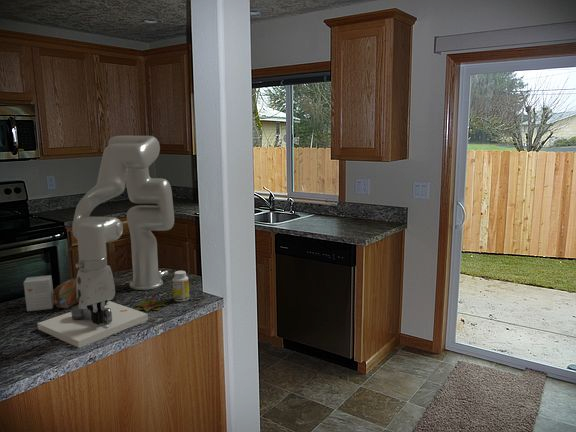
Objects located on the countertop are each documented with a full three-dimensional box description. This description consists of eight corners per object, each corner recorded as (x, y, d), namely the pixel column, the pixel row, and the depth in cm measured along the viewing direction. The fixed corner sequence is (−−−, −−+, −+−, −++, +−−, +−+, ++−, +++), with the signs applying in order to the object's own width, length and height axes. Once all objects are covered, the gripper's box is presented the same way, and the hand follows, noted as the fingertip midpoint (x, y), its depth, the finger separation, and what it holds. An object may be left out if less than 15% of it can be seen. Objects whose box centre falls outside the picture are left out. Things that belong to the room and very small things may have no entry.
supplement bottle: (187, 295, 174) (186, 269, 172) (191, 300, 169) (189, 273, 167) (171, 298, 172) (170, 271, 170) (175, 303, 167) (174, 275, 165)
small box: (55, 303, 166) (52, 274, 165) (52, 309, 161) (49, 279, 159) (29, 306, 164) (26, 277, 162) (26, 311, 159) (23, 282, 157)
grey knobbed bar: (68, 318, 148) (67, 305, 147) (80, 312, 152) (79, 300, 151) (104, 326, 142) (103, 312, 141) (116, 319, 146) (115, 307, 146)
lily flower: (138, 301, 170) (137, 289, 169) (171, 301, 170) (171, 289, 169) (127, 314, 158) (127, 301, 157) (163, 314, 158) (163, 301, 157)
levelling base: (106, 305, 164) (105, 295, 164) (147, 319, 152) (147, 309, 151) (38, 329, 145) (36, 318, 144) (79, 348, 133) (78, 336, 132)
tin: (60, 312, 159) (58, 288, 157) (52, 311, 159) (50, 287, 158) (88, 296, 173) (86, 274, 172) (80, 295, 174) (78, 274, 172)
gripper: (76, 271, 130) (81, 334, 133) (123, 260, 142) (126, 317, 145) (61, 267, 134) (67, 328, 137) (108, 256, 146) (112, 312, 149)
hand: (97, 322), depth 141 cm, fingers closed
